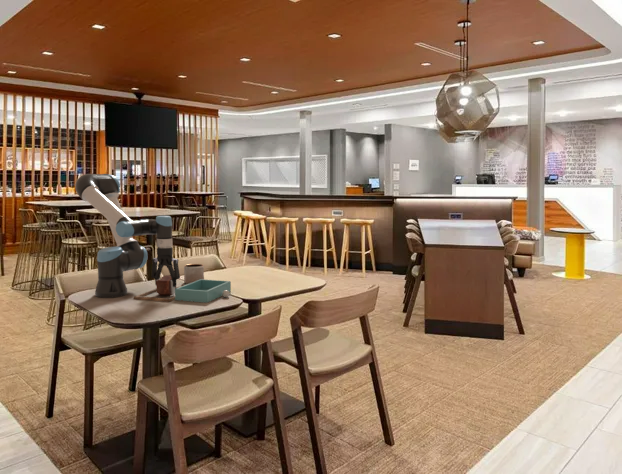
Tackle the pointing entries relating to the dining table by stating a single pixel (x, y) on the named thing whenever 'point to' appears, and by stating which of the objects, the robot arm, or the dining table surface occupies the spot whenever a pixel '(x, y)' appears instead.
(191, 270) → the planter
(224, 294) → the pebble
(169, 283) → the reddish brown block
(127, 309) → the dining table surface
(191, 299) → the dish
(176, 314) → the dining table surface
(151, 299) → the frame
